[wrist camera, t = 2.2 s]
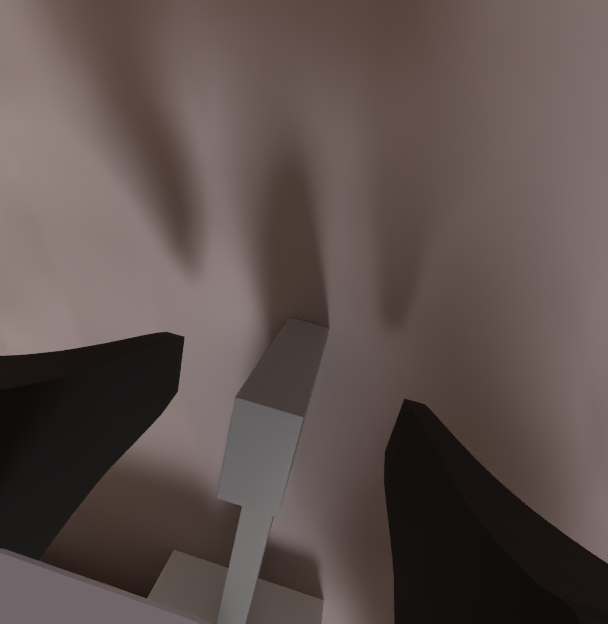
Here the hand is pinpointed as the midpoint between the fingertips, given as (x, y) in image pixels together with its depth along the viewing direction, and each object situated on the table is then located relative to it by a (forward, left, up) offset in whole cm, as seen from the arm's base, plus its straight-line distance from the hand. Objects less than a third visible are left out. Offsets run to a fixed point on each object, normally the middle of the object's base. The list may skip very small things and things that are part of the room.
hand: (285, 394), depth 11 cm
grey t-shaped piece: (+4, +5, -3) cm, 7 cm away
